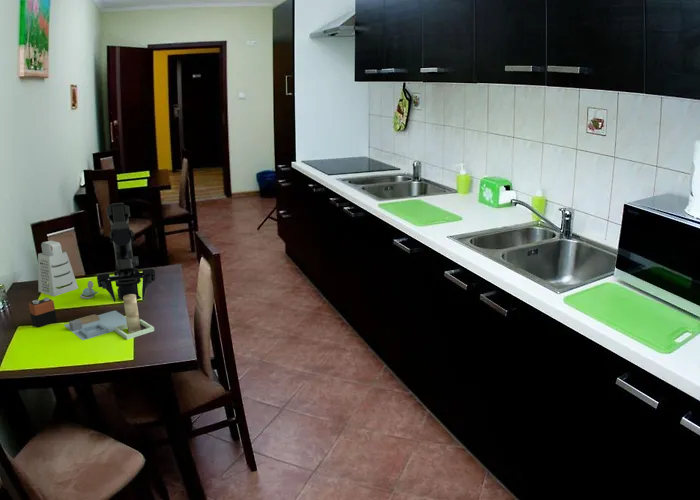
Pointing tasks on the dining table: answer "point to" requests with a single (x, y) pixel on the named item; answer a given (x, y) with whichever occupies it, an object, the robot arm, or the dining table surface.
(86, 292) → the pacifier
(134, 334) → the tray
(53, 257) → the grater
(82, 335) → the board
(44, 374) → the dining table surface
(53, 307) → the battery
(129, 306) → the dowel
